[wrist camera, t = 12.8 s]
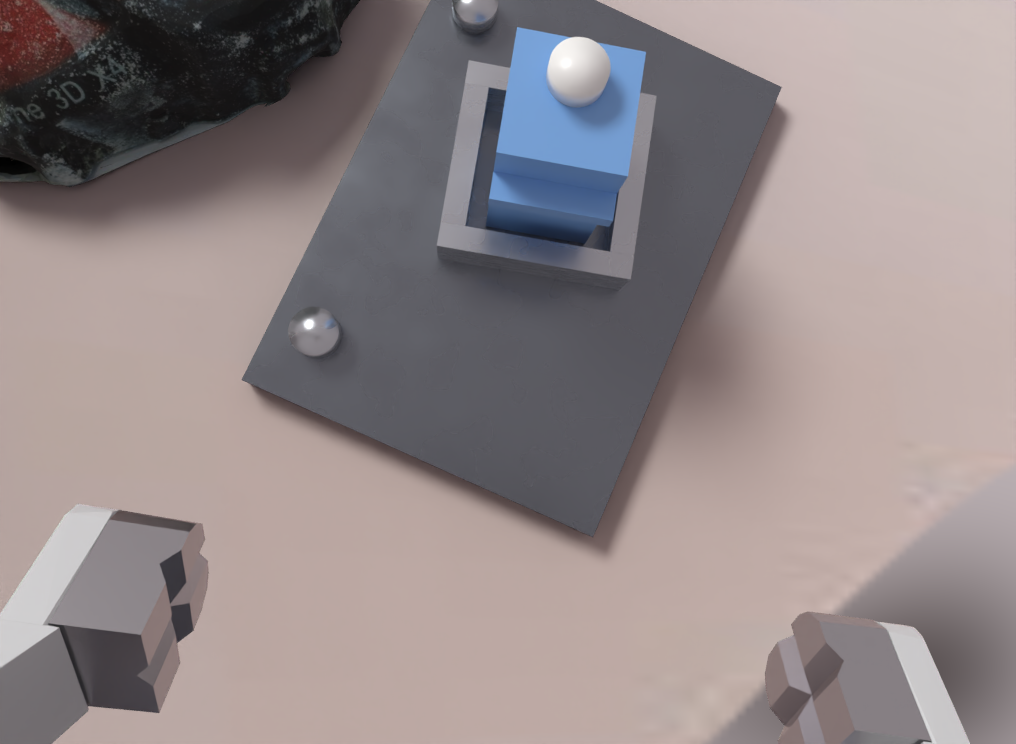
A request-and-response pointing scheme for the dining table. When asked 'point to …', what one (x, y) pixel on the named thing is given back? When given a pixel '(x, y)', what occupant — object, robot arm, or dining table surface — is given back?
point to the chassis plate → (498, 328)
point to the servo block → (564, 135)
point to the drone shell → (141, 75)
